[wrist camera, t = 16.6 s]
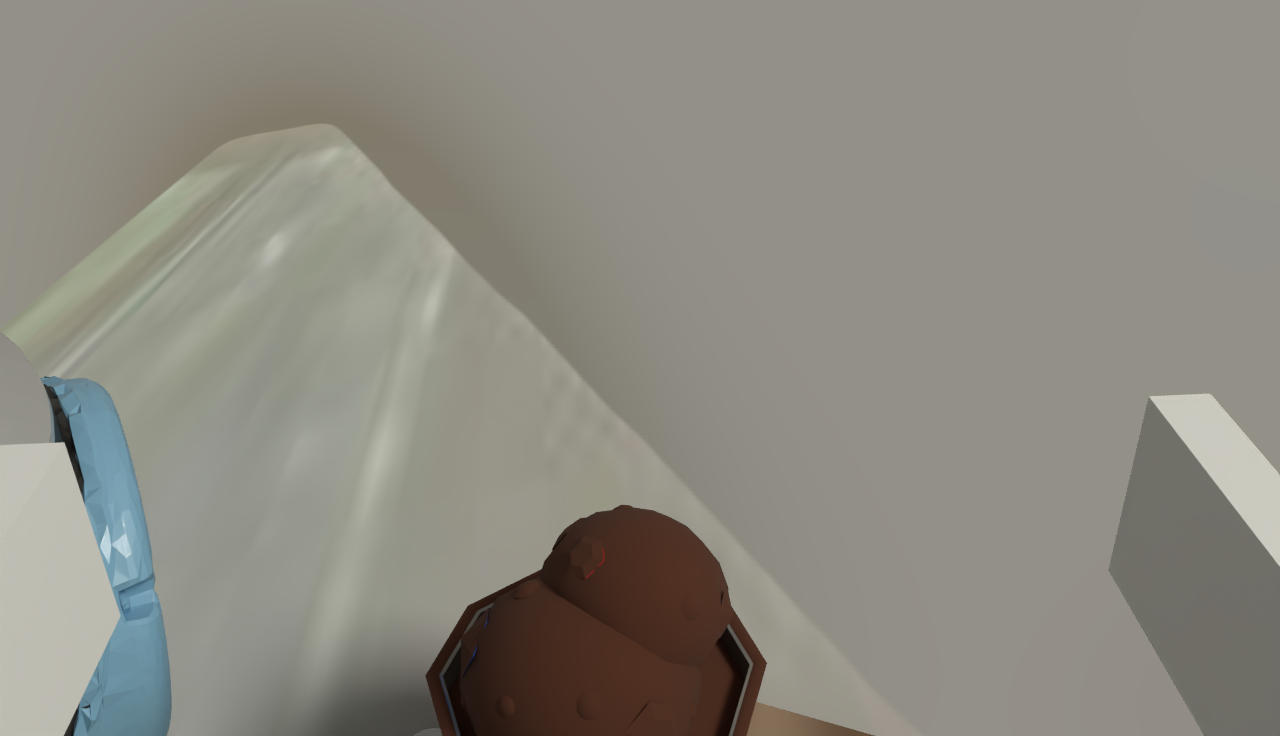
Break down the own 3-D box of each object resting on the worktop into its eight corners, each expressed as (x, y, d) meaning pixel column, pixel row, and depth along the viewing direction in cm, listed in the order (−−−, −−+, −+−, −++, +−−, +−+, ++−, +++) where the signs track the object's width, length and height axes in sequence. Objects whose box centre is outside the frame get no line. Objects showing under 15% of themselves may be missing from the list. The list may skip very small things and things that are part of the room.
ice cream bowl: (572, 703, 50) (551, 402, 43) (809, 825, 45) (834, 505, 37) (394, 889, 43) (330, 565, 35) (652, 1063, 38) (642, 725, 30)
